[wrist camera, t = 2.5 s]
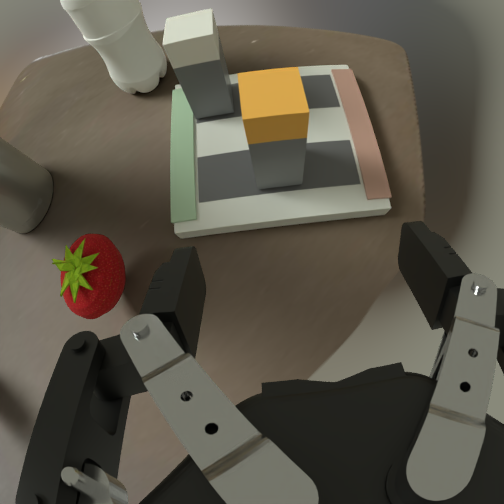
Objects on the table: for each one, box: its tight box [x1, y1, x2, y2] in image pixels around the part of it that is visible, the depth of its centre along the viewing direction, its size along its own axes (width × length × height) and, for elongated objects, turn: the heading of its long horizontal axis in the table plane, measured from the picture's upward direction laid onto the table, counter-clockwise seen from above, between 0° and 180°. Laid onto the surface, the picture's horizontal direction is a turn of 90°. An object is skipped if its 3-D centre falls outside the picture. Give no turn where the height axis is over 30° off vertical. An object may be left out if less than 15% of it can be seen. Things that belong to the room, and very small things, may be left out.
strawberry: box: [52, 234, 126, 319], centre depth 26 cm, size 6×8×10 cm
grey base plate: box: [163, 9, 392, 239], centre depth 25 cm, size 20×18×13 cm
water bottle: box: [60, 0, 167, 94], centre depth 24 cm, size 7×7×25 cm
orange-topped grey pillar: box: [237, 67, 310, 189], centre depth 23 cm, size 4×4×11 cm
